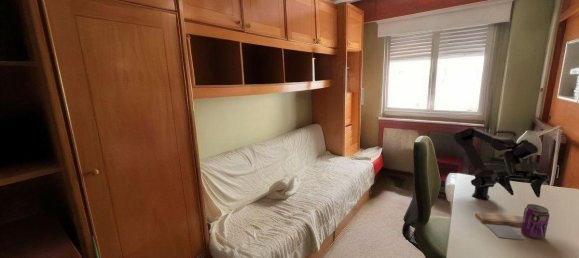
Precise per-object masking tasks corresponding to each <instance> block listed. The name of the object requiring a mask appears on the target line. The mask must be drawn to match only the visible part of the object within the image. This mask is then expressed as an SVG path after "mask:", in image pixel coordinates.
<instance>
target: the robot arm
mask: <svg viewBox="0 0 579 258" xmlns="http://www.w3.org/2000/svg"><path fill="white" fill-rule="evenodd" d="M475 138H477V139H479V140H481V141H483V142H486V143H488V144H489V145H490V147H491V148H493V150H496V151H498V152H501V153H500V154H499V156H498V157H499V158H500V159H503V160H504V163H505V170H496V171H494V169H492V168H487V166H485V164H484V161H483V160H482V158H481V156H480V155H479V153H478V151H477V149H476V147H475V146H474V139H475ZM453 139H454V141H455V143H457V145H458V146H460V147H461V148H462V149H463V150H464V152H465V154H466V156H467V158H468V159H469V162H470V163H471V165H472V167H473V169H474V171H475V172H474V178H472V179H471V180H470V185H471V186H473V187H474V191H473V193H472V195H471V197H473V198H477V199H481V200H484V201H487V200H488V199H489V198H490V195H489V189H490V188H494V186H495V185H496V184H499V185H500V186H501V187H502V188H504V190H505V191H507V192H508V193H509V194H510V196H514V195H515V193H514V190H513V187H512V185H511V180H524V181H529V183H530V184H529V186H530V187H531V189H532V191H533V193H534V194H535V196H536V197H537V198H540V197H541V190H542V184H544V183H546V182H547V181H549V180H550V177H549V175H548V174H547V173H539V172H536V171H539V170H540V166H539V165H540V164H538V162H537V161H536V162H533V161H532V162H529V163H527V162H526V163H525V162H523V161H522V160H524V159H527V158H529V157H531V156H533V155H535V154H537V153H538V152H539V149H538V147H537V145H536V144H534V143H532V142H530V141H529V140H528V139H522V140H520V141H519V142H516V141H515V140H514V139H512V138H509V137H503V136H497V135H495V134H492V133H490V132H488V131H486V130H483V129H481V128H479V127H468V128H466V129H464V130H462V131H459V132H458V131H457V132H456V133H455V134H454V136H453ZM503 151H504V152H503ZM531 172H533V174H532V175H529V174H531ZM534 172H536V173H534Z"/></svg>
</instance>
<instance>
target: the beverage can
mask: <svg viewBox="0 0 579 258" xmlns="http://www.w3.org/2000/svg"><path fill="white" fill-rule="evenodd" d="M549 212H550V211H549V209H548V208H547V207H544V206H542V205H539V204H533V203H528V204H527V205H526V207H525V208H524V211H523V215H522V216H523V220H522V226H520V231H521V232H522V233H523V234H525V235H526V236H528V237H530V238H532V239H545V238H546V234H547V230H548V229H547V228H548V226H549V225H548V223H549V220H550V213H549Z"/></svg>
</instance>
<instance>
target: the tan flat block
mask: <svg viewBox="0 0 579 258" xmlns="http://www.w3.org/2000/svg"><path fill="white" fill-rule="evenodd" d="M474 215H475V217H476V218H477V220H479V221H480V223H482V224H491V225H503V226H515V227H521V226H522V220H523V215H509V214H496V213H485V212H475V213H474Z"/></svg>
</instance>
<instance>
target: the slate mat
mask: <svg viewBox="0 0 579 258" xmlns="http://www.w3.org/2000/svg"><path fill="white" fill-rule="evenodd" d="M485 226H486V227H487V228H488V229H489V230H490V231H491V232H492V233H493V234H494V235H495V236H496V237H497V238H499V239H511V240H519V241H520V240H521V241H525V240H526V238H524V237H523V236H522V235H521V234H519V233H518V232H517V231H516V230H515V229H514V228H513V227H512V226H511V225H502V224H491V223H485Z"/></svg>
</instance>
